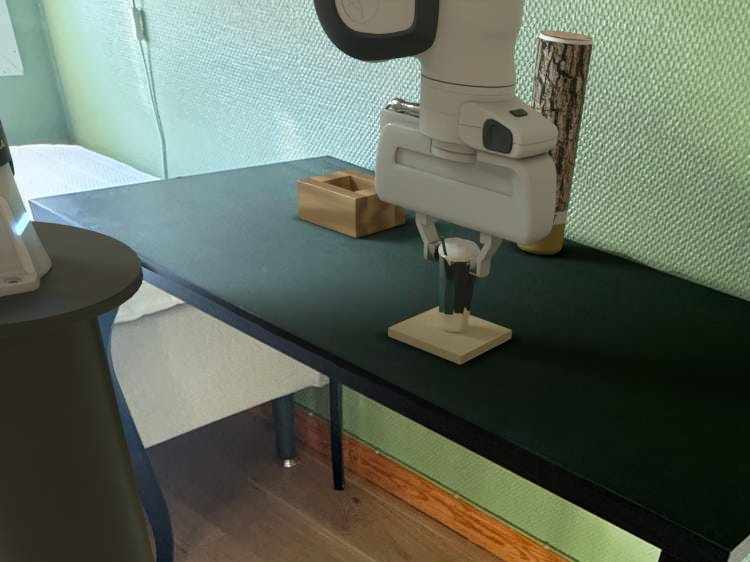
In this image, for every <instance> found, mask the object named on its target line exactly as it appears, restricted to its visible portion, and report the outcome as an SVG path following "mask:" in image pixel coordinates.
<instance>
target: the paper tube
mask: <svg viewBox="0 0 750 562" xmlns="http://www.w3.org/2000/svg"><path fill="white" fill-rule="evenodd" d="M538 35H539V36H538V40H537V48H536V55H535V56H536V57H535V65H534V75H533V85H532V93H531V102H530V107H531V108H533V109H534V110H535V111H537V112H538V113H539V114H541V115H542V116H544V117H545V118H546V119H548V120H549V121H551V122H552V123H553V124H554V125H555V126H556V127H557V129H558V138H557V144H556V146H555V148H554V149H553V150H550V151H548V152H546V153H547V154H549V156H550V157H551V158H552V160H553V162H554V164H555V168H556V177H557V182H556V201H555V212H554V220H553V226H552V230H551V232H550V233H549V235H548V236H547V237H546V238H545V239H544V240H543V241H541V242H538V243H536V244H533V245H530V246H524V245H521V244H518V243H516V246H517V247H518V248H519V249H520V250H521V251H523V252H526V253H529V254H533V255H540V256H549V255H551V256H552V255H555V254H557V253H559V252H560V251H561V250H562V248H563V244H564V238H565V231H566V224H567V219H568V218H567V217H568V212H569V205H570V200H571V193H572V186H573V179H574V173H575V165H576V159H577V153H578V145H579V139H580V134H581V133H580V132H581V125H582V118H583V112H584V105H585V99H586V91H587V86H588V80H589V79H588V78H589V73H590V72H589V71H590V66H591V59H592V51H593V44H594V42H593V41H594V40H593V39H594V37H593V36H591V35H587V34H582V33H577V32H571V31H563V30H550V29H549V30H547V29H546V30H540V31H539V34H538Z"/></svg>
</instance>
